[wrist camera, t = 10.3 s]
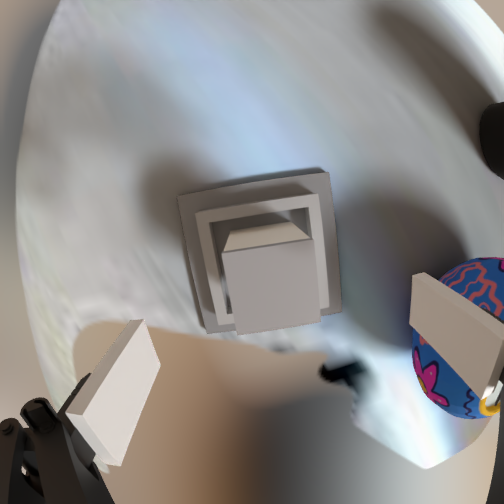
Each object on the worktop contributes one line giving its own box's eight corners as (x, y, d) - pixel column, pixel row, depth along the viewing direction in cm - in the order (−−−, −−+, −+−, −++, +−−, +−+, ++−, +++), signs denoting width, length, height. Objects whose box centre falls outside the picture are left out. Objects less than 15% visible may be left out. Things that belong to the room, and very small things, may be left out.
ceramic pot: (431, 383, 32) (482, 447, 18) (361, 333, 30) (424, 423, 15) (501, 290, 29) (568, 329, 15) (450, 212, 27) (550, 237, 12)
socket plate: (178, 195, 26) (171, 196, 23) (326, 172, 25) (334, 171, 23) (207, 330, 29) (204, 343, 26) (339, 308, 29) (347, 319, 26)
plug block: (229, 230, 26) (221, 253, 17) (291, 220, 26) (313, 239, 17) (239, 288, 27) (237, 335, 18) (298, 279, 27) (320, 321, 18)
